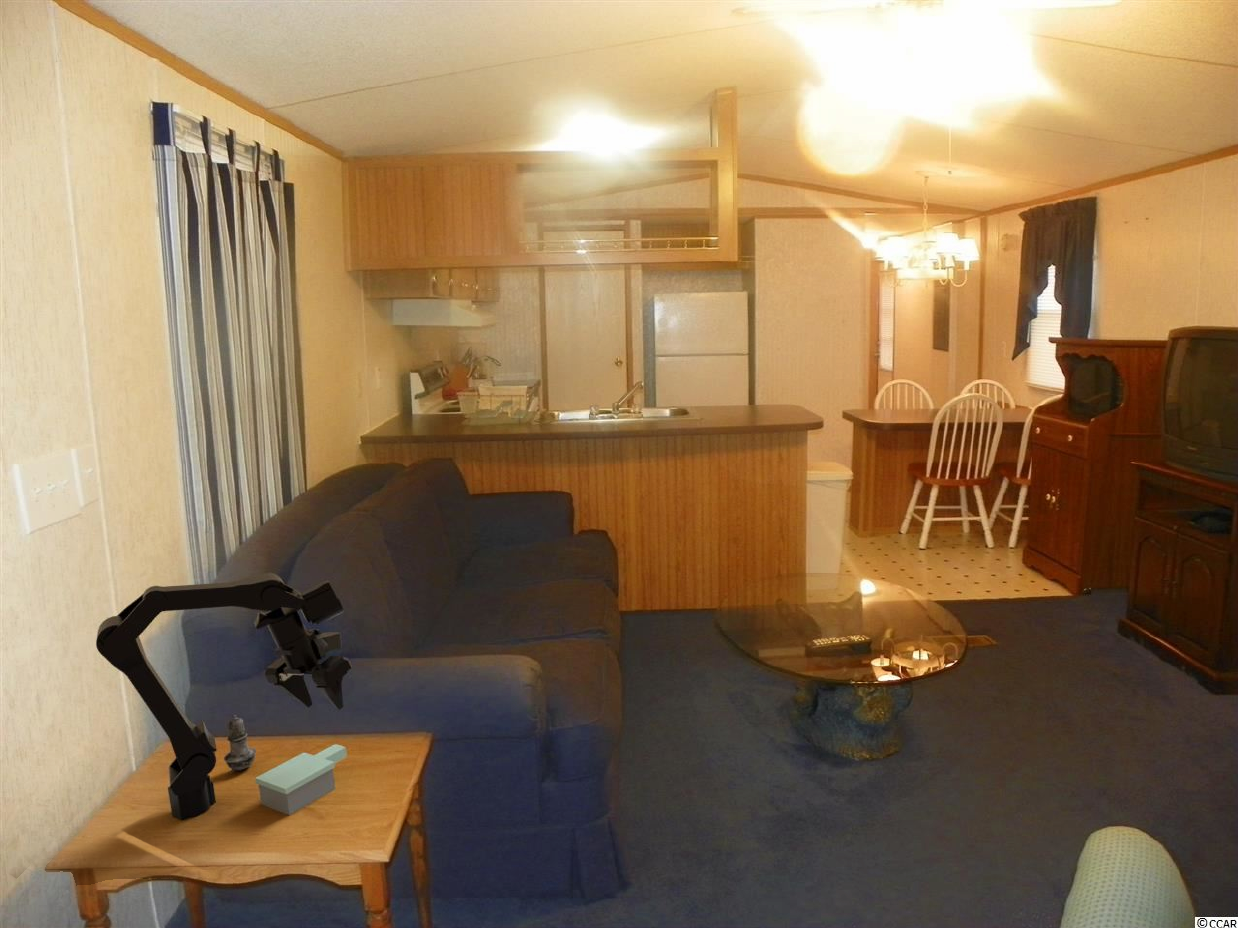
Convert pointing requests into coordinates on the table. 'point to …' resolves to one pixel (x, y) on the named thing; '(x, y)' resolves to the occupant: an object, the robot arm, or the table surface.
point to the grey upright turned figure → (238, 747)
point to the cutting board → (301, 769)
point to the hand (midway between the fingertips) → (325, 707)
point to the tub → (298, 794)
